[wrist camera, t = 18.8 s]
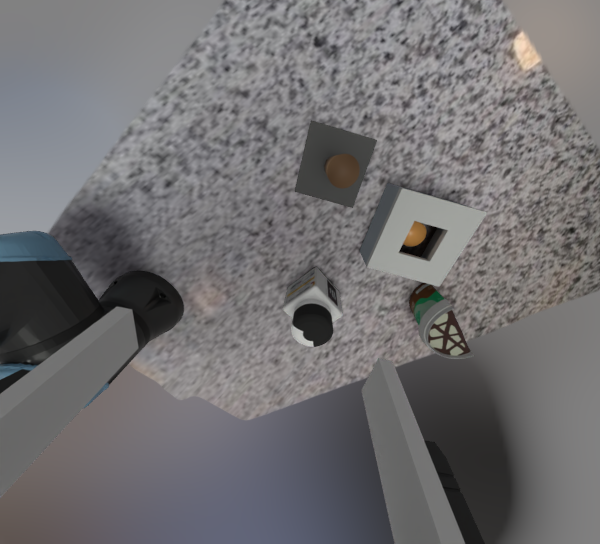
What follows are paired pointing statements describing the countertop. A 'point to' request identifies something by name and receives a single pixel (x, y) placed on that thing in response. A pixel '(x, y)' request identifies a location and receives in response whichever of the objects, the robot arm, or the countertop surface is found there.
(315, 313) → the container
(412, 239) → the button
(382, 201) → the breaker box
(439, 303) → the food container
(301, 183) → the pad
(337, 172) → the stylus
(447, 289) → the countertop surface
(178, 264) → the countertop surface
